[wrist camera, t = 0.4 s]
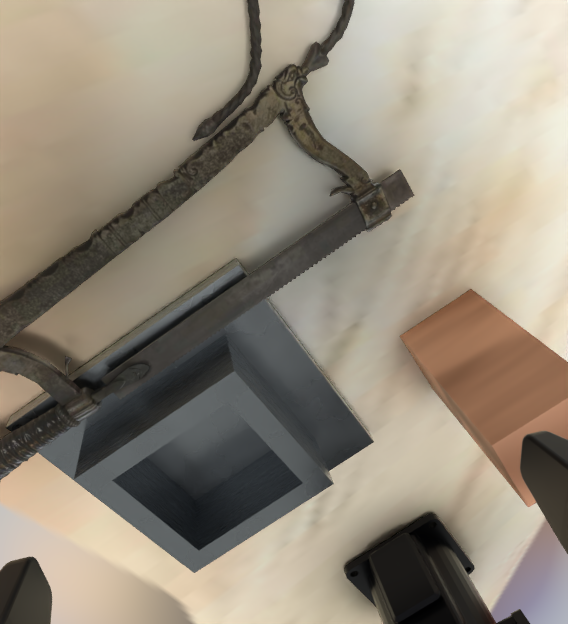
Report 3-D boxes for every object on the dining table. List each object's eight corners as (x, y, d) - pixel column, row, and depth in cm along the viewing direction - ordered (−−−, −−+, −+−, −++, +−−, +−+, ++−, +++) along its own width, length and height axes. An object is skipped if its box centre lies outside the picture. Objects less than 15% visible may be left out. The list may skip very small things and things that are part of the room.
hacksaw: (-26, 515, 22) (-305, 384, 16) (-16, 463, 24) (-256, 331, 18) (457, 175, 20) (356, -111, 14) (419, 154, 23) (318, -100, 17)
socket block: (368, 431, 27) (397, 484, 24) (182, 552, 28) (185, 618, 25) (236, 258, 22) (249, 295, 18) (10, 415, 23) (-17, 478, 19)
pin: (499, 346, 26) (620, 450, 19) (433, 389, 27) (528, 507, 20) (471, 288, 25) (593, 381, 18) (399, 336, 25) (491, 445, 18)
